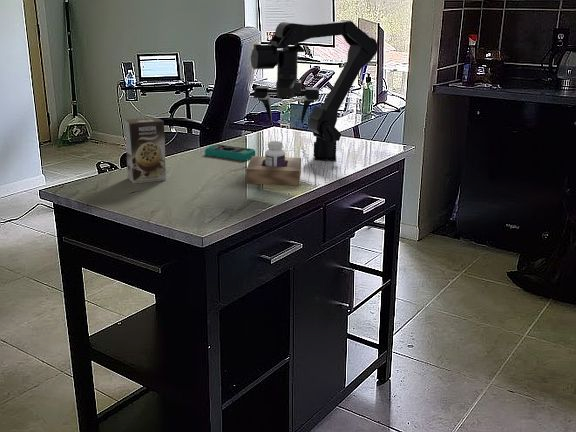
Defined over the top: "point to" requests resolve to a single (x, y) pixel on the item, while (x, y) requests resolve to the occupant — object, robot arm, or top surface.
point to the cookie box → (145, 150)
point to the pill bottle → (275, 154)
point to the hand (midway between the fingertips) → (286, 122)
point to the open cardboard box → (273, 172)
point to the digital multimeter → (230, 152)
